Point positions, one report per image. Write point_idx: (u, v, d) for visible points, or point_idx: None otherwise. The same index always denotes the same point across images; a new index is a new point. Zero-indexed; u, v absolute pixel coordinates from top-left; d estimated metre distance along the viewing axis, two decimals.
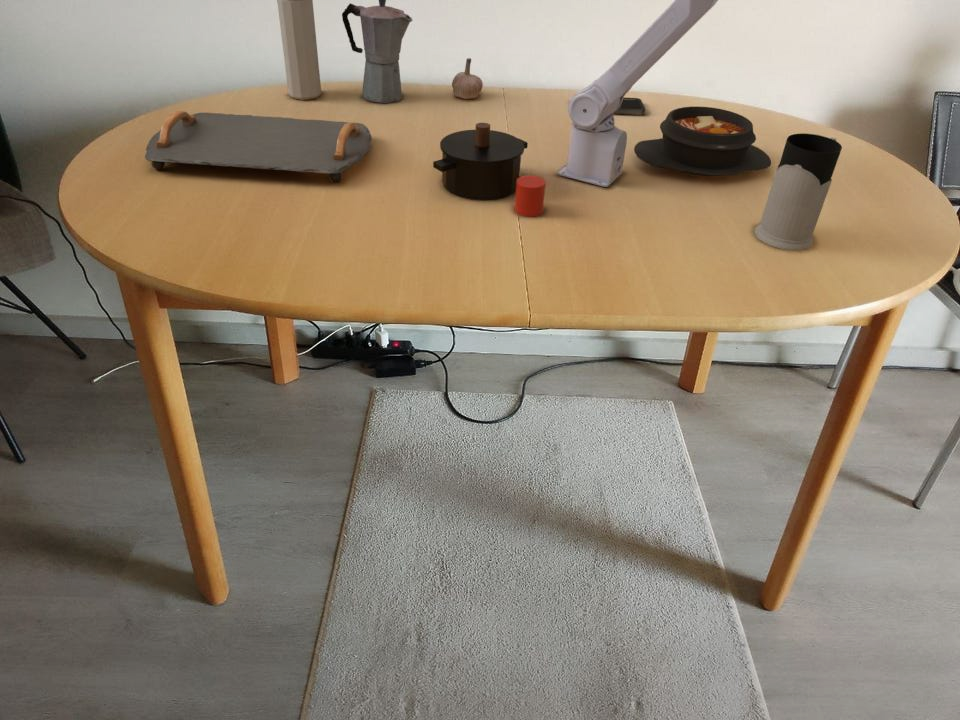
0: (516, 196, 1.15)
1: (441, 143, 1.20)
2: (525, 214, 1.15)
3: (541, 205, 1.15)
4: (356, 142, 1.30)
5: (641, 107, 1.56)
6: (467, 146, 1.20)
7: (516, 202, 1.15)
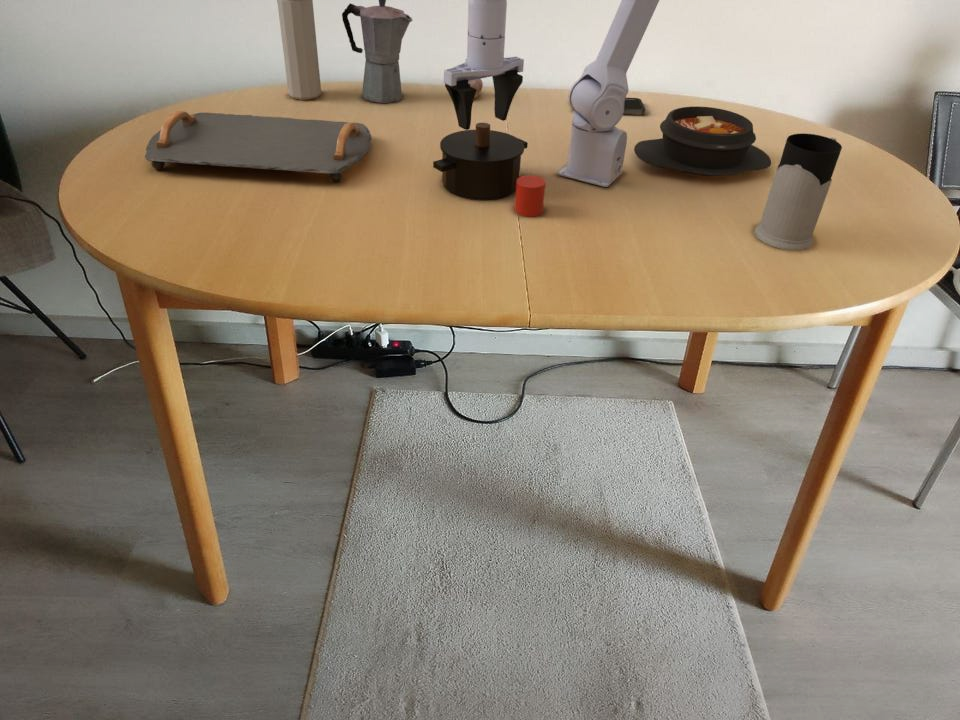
0: (516, 196, 1.15)
1: (441, 143, 1.20)
2: (525, 214, 1.15)
3: (541, 205, 1.15)
4: (356, 142, 1.30)
5: (641, 107, 1.56)
6: (467, 146, 1.20)
7: (516, 202, 1.15)
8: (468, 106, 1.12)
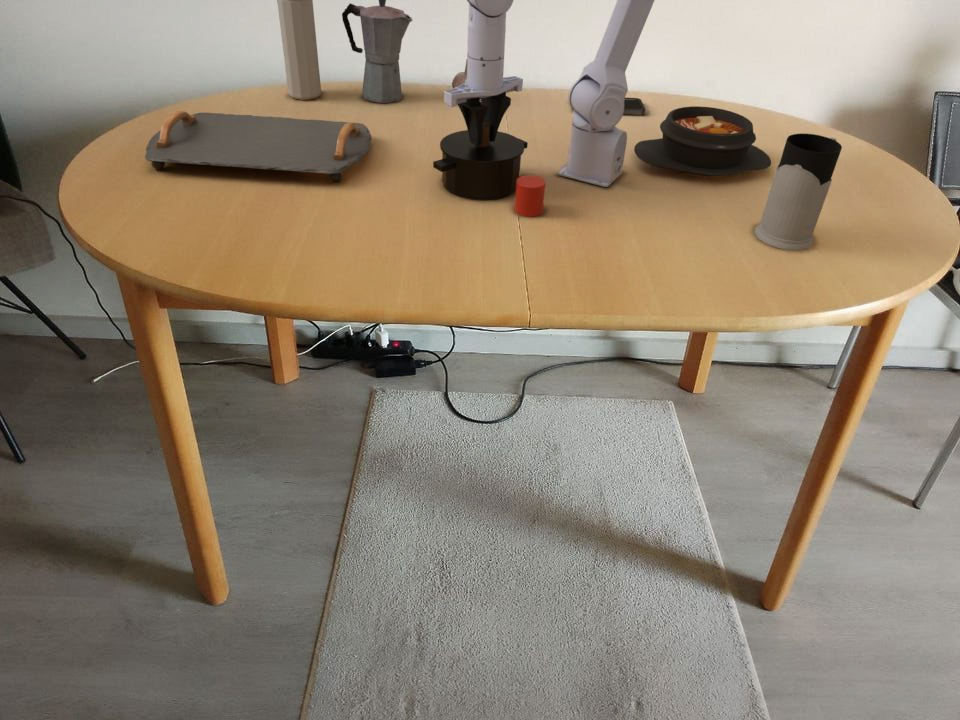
0: (516, 196, 1.15)
1: (441, 143, 1.20)
2: (525, 214, 1.15)
3: (541, 205, 1.15)
4: (356, 142, 1.30)
5: (641, 107, 1.56)
6: (467, 146, 1.20)
7: (516, 202, 1.15)
8: (479, 123, 1.15)
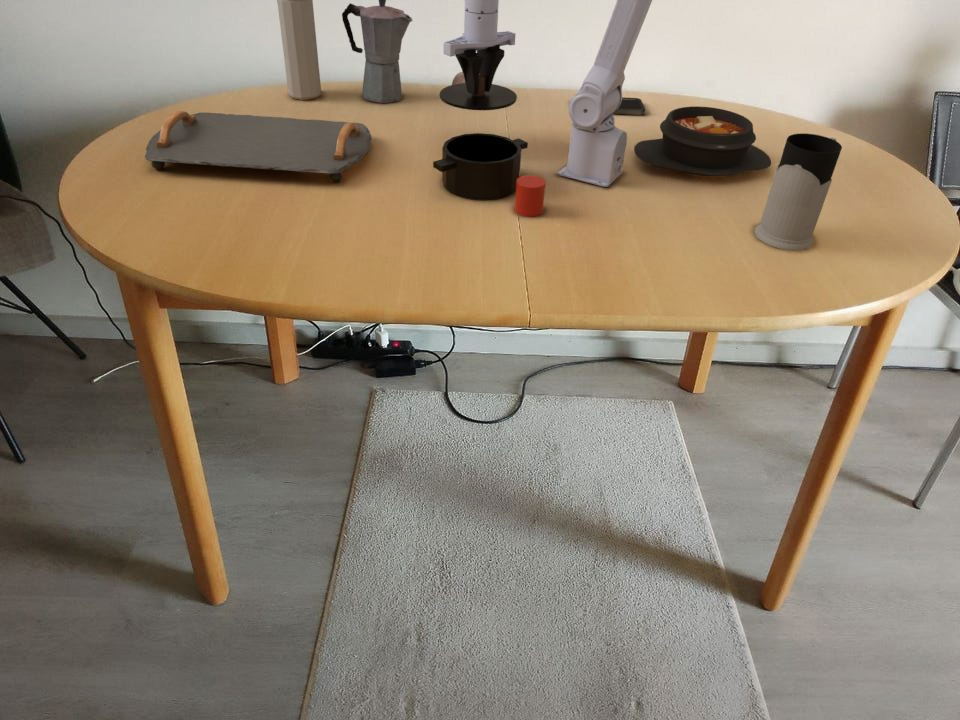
0: (516, 196, 1.15)
1: (440, 93, 1.31)
2: (525, 214, 1.15)
3: (541, 205, 1.15)
4: (356, 142, 1.30)
5: (641, 107, 1.56)
6: (464, 95, 1.31)
7: (516, 202, 1.15)
8: (476, 73, 1.26)
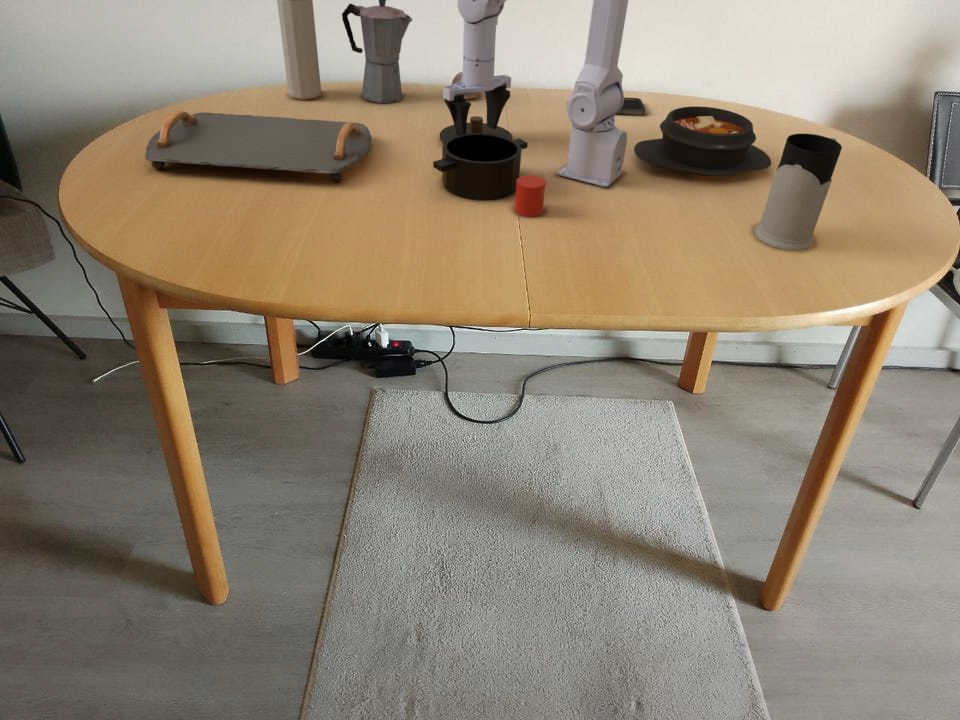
0: (516, 196, 1.15)
1: (440, 134, 1.39)
2: (525, 214, 1.15)
3: (541, 205, 1.15)
4: (356, 142, 1.30)
5: (641, 107, 1.56)
6: None
7: (516, 202, 1.15)
8: (464, 117, 1.33)
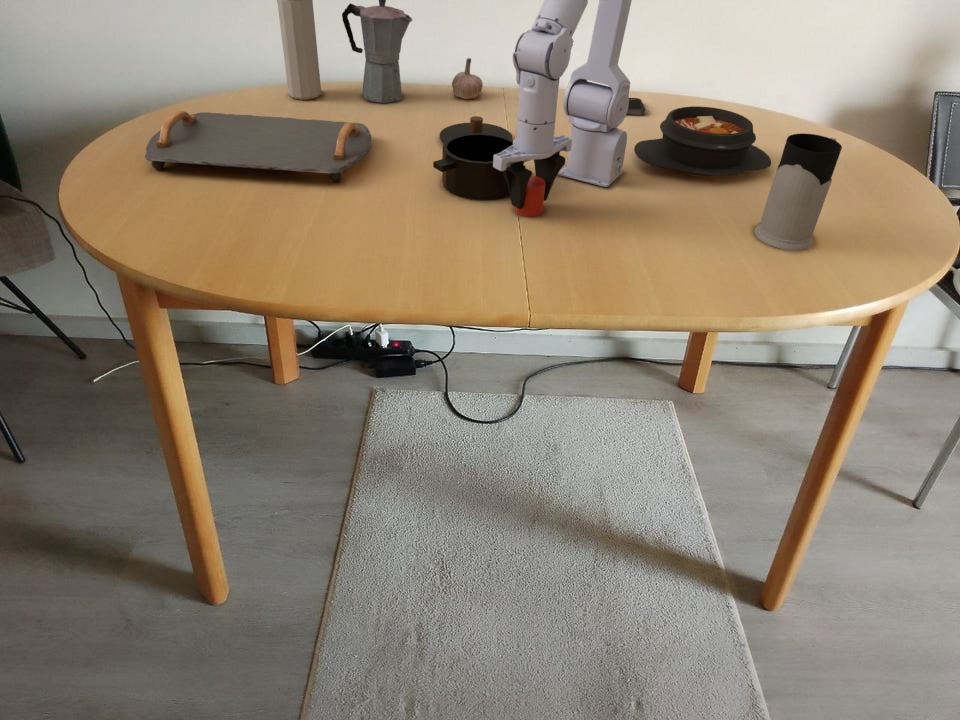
0: None
1: (440, 134, 1.39)
2: (525, 214, 1.15)
3: (541, 205, 1.15)
4: (356, 142, 1.30)
5: (641, 107, 1.56)
6: None
7: None
8: (523, 187, 1.11)
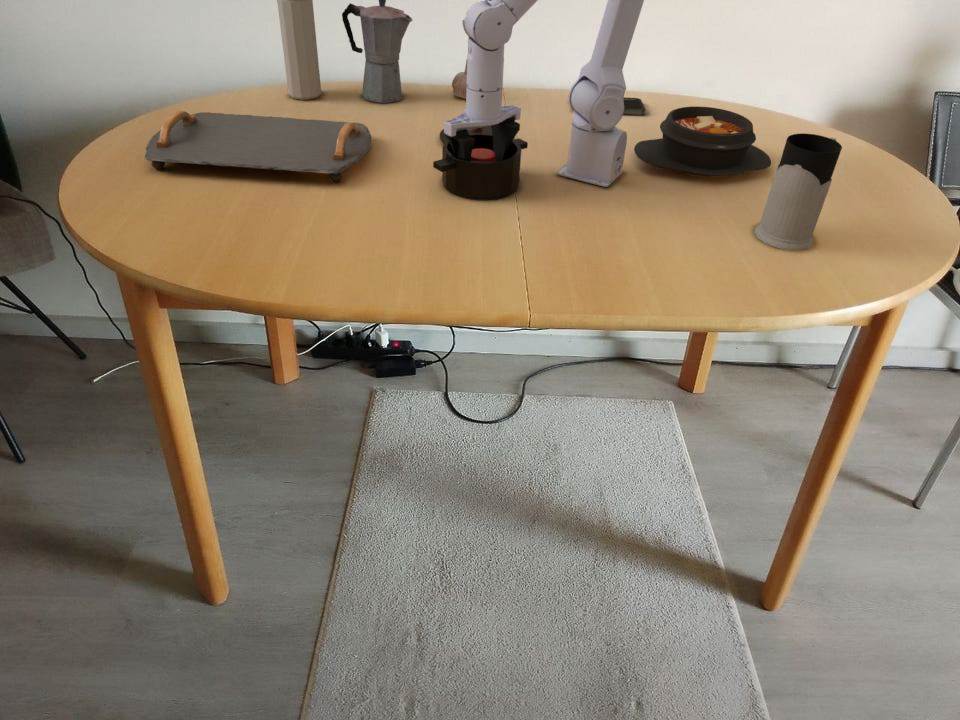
0: None
1: (440, 134, 1.39)
2: None
3: None
4: (356, 142, 1.30)
5: (641, 107, 1.56)
6: None
7: None
8: (467, 154, 1.17)
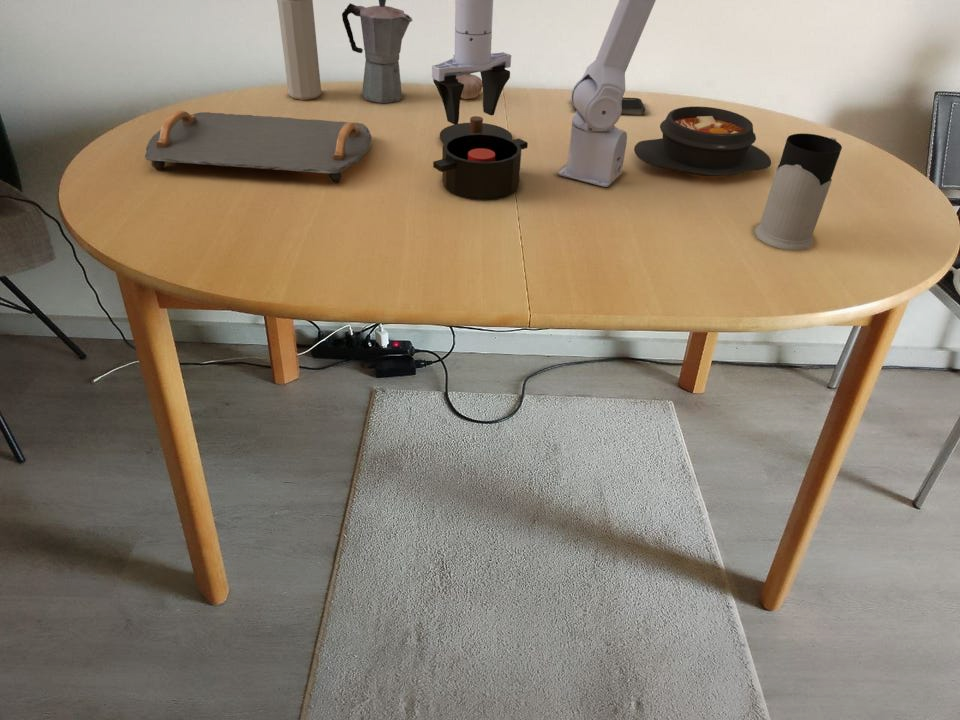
0: None
1: (440, 134, 1.39)
2: None
3: None
4: (356, 142, 1.30)
5: (641, 107, 1.56)
6: None
7: None
8: (456, 101, 1.14)
